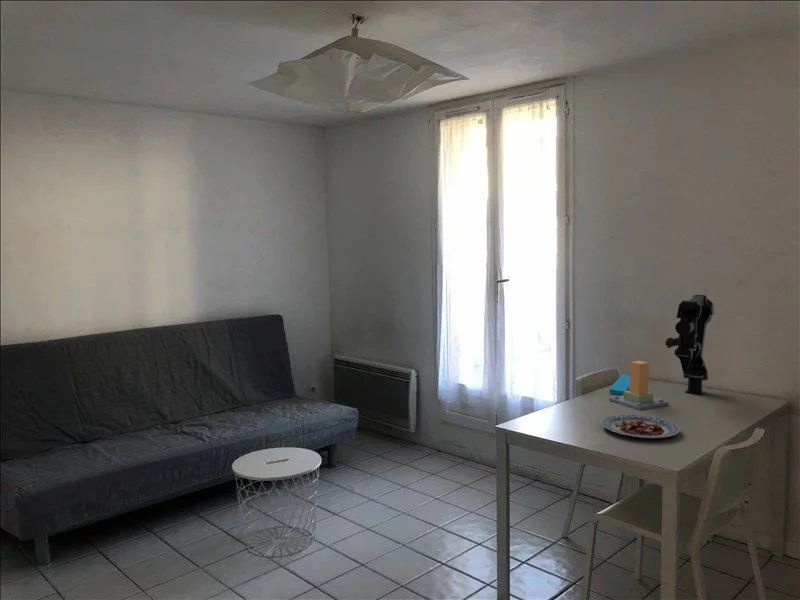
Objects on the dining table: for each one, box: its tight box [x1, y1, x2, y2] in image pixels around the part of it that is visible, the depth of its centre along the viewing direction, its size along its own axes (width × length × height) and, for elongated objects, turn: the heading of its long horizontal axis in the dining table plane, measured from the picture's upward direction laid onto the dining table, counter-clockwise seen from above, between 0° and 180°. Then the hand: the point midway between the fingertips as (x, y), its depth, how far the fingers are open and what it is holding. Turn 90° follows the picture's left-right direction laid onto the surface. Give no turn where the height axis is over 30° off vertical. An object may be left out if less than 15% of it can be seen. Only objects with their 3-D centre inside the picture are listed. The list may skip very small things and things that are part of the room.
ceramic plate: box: [601, 414, 681, 439], centre depth 227 cm, size 26×26×3 cm
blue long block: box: [608, 374, 630, 396], centre depth 281 cm, size 7×7×18 cm
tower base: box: [608, 391, 669, 411], centre depth 262 cm, size 16×16×4 cm
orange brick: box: [629, 360, 650, 395], centre depth 261 cm, size 5×5×12 cm
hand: (687, 369), depth 263 cm, fingers open, 9 cm apart
